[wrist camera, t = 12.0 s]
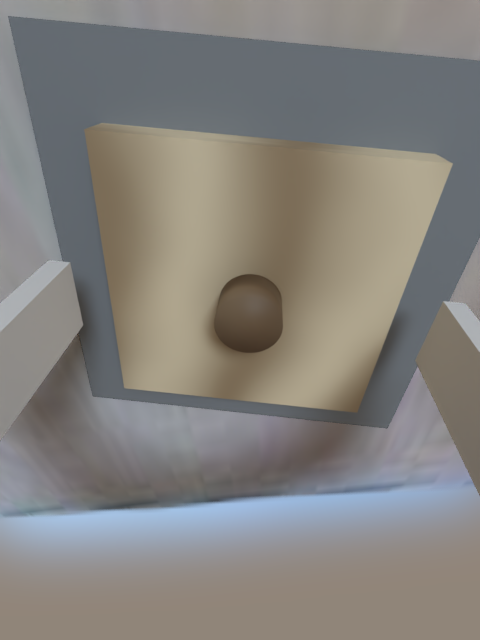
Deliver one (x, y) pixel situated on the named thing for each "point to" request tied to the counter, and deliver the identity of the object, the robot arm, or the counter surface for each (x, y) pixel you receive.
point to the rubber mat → (253, 121)
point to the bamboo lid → (256, 259)
